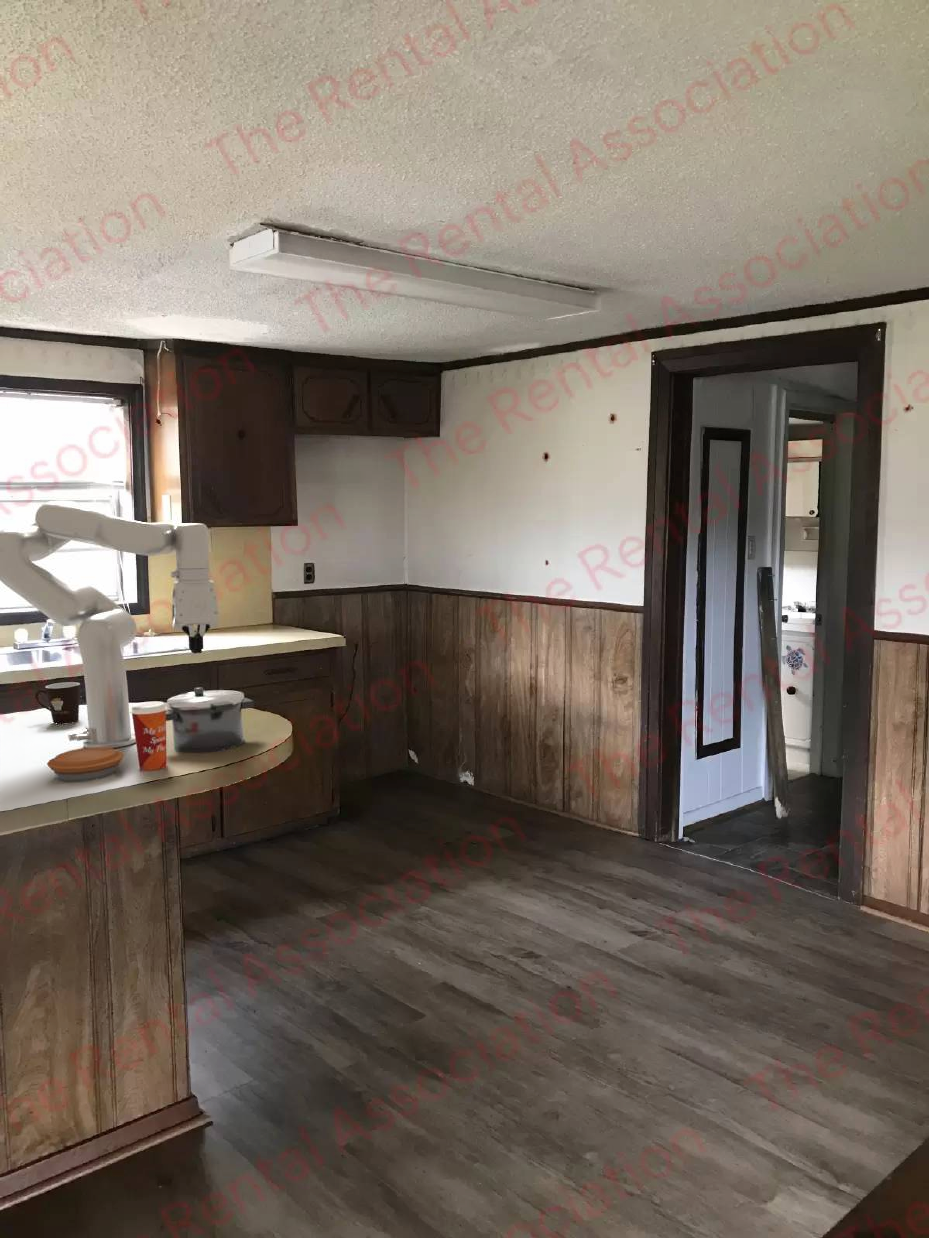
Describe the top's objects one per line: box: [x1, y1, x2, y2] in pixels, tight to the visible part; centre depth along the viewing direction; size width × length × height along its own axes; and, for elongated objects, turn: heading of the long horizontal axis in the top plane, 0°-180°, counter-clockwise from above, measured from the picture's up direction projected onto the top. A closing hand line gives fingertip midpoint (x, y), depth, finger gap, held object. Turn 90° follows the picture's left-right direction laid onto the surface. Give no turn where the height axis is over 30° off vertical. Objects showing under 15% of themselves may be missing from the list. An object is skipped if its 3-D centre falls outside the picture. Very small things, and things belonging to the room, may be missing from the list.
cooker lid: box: [166, 687, 245, 711], centre depth 238 cm, size 18×21×3 cm
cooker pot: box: [166, 697, 255, 754], centre depth 241 cm, size 22×19×10 cm
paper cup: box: [129, 700, 168, 772], centre depth 220 cm, size 8×8×14 cm
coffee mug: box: [34, 681, 81, 725], centre depth 273 cm, size 12×9×10 cm
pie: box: [46, 747, 125, 783], centre depth 217 cm, size 15×16×5 cm
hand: (196, 652), depth 241 cm, fingers closed
